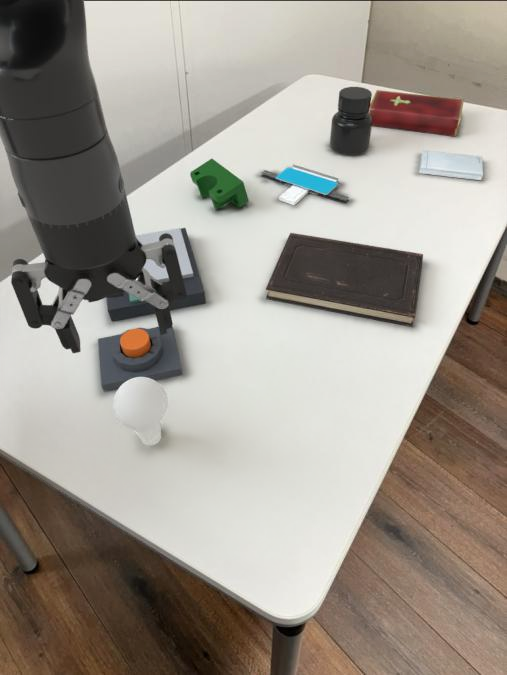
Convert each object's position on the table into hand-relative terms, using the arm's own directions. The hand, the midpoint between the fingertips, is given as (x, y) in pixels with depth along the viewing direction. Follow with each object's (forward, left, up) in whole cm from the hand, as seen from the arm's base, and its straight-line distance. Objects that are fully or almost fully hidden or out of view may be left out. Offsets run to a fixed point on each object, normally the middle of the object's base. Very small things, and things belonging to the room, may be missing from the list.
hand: (120, 337), depth 51 cm
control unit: (0, +14, -19) cm, 24 cm away
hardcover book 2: (+73, +73, -19) cm, 105 cm away
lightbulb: (0, 0, -19) cm, 19 cm away
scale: (+4, +32, -19) cm, 37 cm away
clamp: (+20, +52, -19) cm, 59 cm away
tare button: (0, +14, -16) cm, 22 cm away
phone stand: (+37, +51, -19) cm, 66 cm away
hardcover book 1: (+35, +22, -19) cm, 46 cm away
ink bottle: (+53, +65, -19) cm, 86 cm away
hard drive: (+70, +50, -19) cm, 88 cm away
